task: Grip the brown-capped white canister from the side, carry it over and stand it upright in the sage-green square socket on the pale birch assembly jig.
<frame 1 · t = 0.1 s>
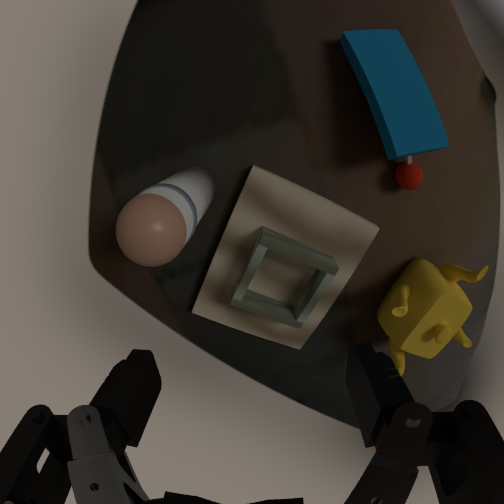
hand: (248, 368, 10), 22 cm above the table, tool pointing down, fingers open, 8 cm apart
lever: (388, 109, 25), on the table
brown-capped white canister: (193, 189, 30), on the table
jig: (280, 269, 34), on the table
teapot: (412, 293, 35), on the table
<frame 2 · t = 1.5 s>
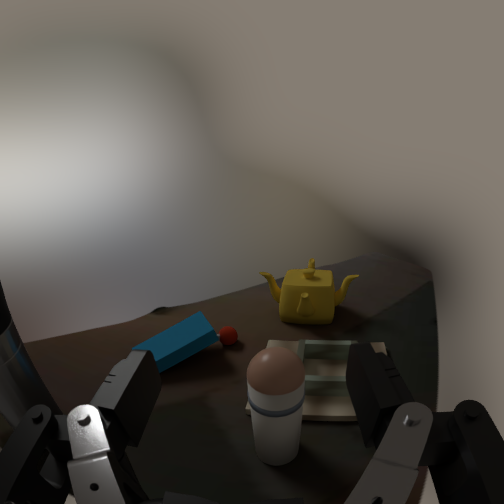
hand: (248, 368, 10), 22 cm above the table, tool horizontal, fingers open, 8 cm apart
lever: (188, 356, 45), on the table
brown-capped white canister: (277, 448, 26), on the table
jig: (325, 379, 37), on the table
teapot: (307, 313, 56), on the table
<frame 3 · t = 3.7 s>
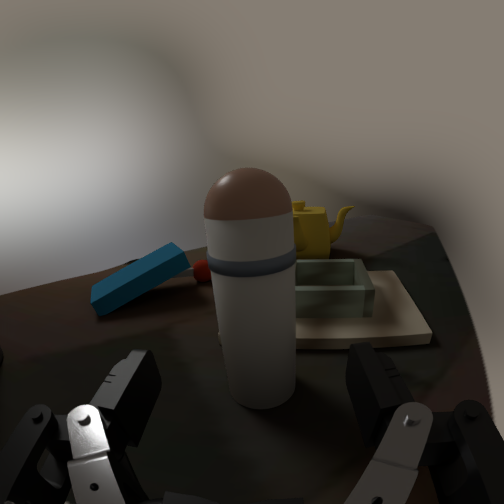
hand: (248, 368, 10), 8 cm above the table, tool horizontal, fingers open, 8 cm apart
lever: (156, 295, 38), on the table
brown-capped white canister: (262, 385, 19), on the table
jig: (326, 307, 30), on the table
teapot: (300, 255, 50), on the table
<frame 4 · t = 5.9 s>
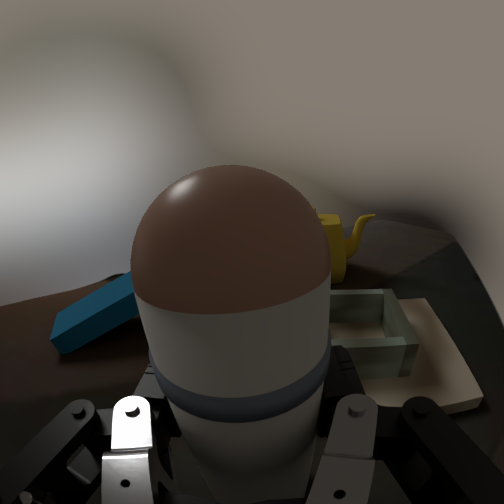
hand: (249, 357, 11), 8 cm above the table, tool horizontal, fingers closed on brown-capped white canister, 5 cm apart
lever: (130, 327, 30), on the table
brown-capped white canister: (260, 487, 11), on the table, touching gripper
jig: (346, 355, 22), on the table
teapot: (308, 273, 41), on the table
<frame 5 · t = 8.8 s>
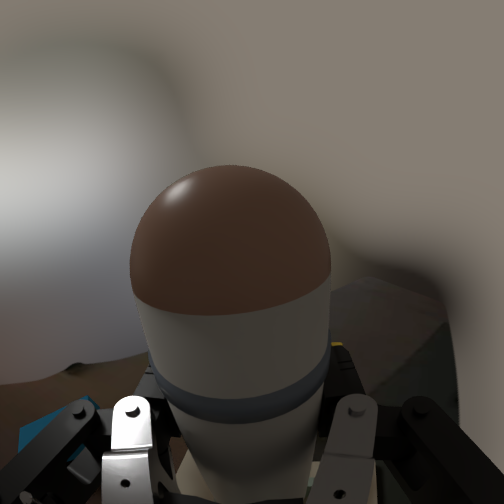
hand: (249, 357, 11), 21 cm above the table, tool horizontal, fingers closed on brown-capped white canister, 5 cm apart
lever: (82, 450, 23), on the table
brown-capped white canister: (260, 488, 11), point 13 cm above the table, touching gripper
when the fingers open (11 cm above the table, at t = 11.8 s): brown-capped white canister drops 1 cm, resting on jig.
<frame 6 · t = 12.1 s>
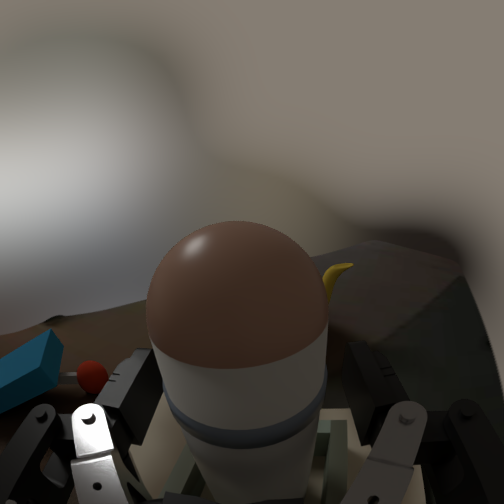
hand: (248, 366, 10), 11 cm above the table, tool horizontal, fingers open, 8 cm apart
lever: (39, 400, 19), on the table
brown-capped white canister: (261, 497, 11), point 1 cm above the table, touching jig
jig: (262, 502, 12), on the table
teapot: (260, 336, 31), on the table
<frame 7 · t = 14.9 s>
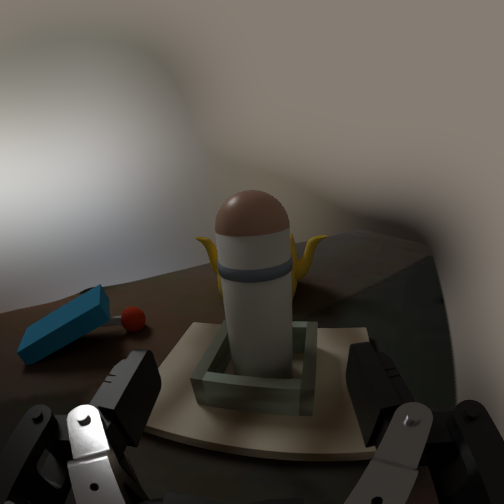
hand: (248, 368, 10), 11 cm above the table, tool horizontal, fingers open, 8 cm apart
lever: (84, 343, 30), on the table
brown-capped white canister: (263, 375, 22), point 1 cm above the table, touching jig
jig: (264, 384, 23), on the table
teapot: (261, 292, 43), on the table
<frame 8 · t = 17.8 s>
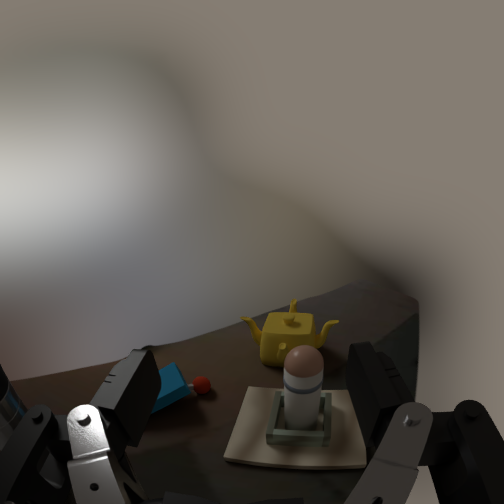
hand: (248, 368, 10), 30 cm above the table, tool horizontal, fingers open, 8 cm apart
lever: (165, 403, 43), on the table
brown-capped white canister: (300, 424, 36), point 1 cm above the table, touching jig
jig: (300, 428, 36), on the table
teapot: (289, 355, 56), on the table
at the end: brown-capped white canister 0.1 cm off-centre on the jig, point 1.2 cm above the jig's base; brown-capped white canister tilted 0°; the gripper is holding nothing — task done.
